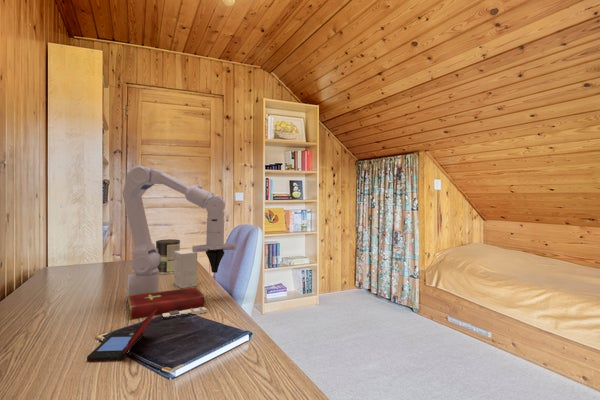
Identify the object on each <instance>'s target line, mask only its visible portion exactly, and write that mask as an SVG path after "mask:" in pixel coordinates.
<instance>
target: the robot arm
mask: <svg viewBox="0 0 600 400" xmlns="http://www.w3.org/2000/svg"><path fill="white" fill-rule="evenodd" d="M125 176H126V181H125V184H124V188H123V189H122V198H123V203H124V205H125V210H126V215H127V219H128V223H129V228H130V232H131V237H132V242H133V245H134V246H133V249H132V260H131V261H132V262H131V268H132V270H133V272H134V273H131V274H130V273H129V274H128V275H127V286H126V287H127V288H126V289H127V291H126V299H127V303H128V305H129V301H128V296H129V295H137V294H145V293H153V292H159V280H160V279H159V275H160V274H159V270H158V268H157V266H158V265H159V264H160V262H161V256H160V254H159V253H158V252H157V251H156V244H154V243H153V241H152V239H151V234H150V230H149V229H150V228H149V224H148V220H147V215H146V212H145V207H144V204H143V198H142V197H143V195H144V194H145V193H146V192H147V190H148V189H149V188H152V187H154V185H163V186H166V187H168V188H170V189H171V190H174V191H176V192H179V193H180V194H183V195H184V196H185V200H186V201H188V202H190V203H192V204H194V205H195V206H198V207H200V208H202V209H205V210H206V212H207V214H206V216H207V218H206V242H205V243H206V244H200V245H199V244H198V245H192V250H191V251H192V252H197V253H200V252H201V253H203V252H205V254H206V256H207V258H208V262H209V264H210V269H211V273H213V274H216V273H218V271H219V266H220V264H221V261H222V259H223V257H224V256H225V251H237V244H236V243H224V242H225V218H224V217H225V211H224V210H225V209H226V201H225V200H224V199H223V198H222V197H221V196H215V195H216V194H215V193H214V192H209V191H208V190H206V189H203V186H202V185H196V184H195V185H187V184H186V183H184V182H183V181H180V180H179V179H177V178H175V177H173V176H172V175H170V174H168V173H165V172H164V171H161V170H157V169H154V168H152V167H146V166H144V165H135V166H132V168H131V169H130V170H129V171H128V172H127V173H126V175H125Z"/></svg>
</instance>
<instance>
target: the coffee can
mask: <svg viewBox="0 0 600 400" xmlns="http://www.w3.org/2000/svg"><path fill="white" fill-rule="evenodd" d="M180 243H181V240H180V239H176V238H175V239H172V238H171V239H167V238H165V239H159V240H155V247H156V251H157V252H158V253H159V254H160V256H161V262H160V264H159V265H158V266H157V268H158V270H159V275H171V274H174V251H181V250H180V249H181V248H180V246H181V244H180Z"/></svg>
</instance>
